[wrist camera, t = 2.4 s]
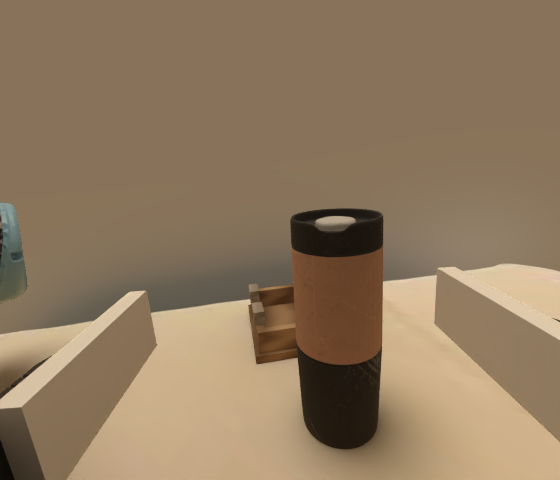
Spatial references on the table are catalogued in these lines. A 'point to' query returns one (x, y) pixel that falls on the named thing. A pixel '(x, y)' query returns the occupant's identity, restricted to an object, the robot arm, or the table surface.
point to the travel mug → (339, 321)
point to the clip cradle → (273, 322)
